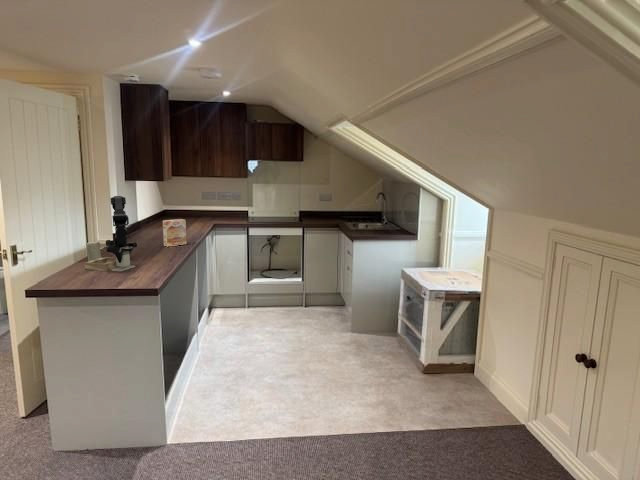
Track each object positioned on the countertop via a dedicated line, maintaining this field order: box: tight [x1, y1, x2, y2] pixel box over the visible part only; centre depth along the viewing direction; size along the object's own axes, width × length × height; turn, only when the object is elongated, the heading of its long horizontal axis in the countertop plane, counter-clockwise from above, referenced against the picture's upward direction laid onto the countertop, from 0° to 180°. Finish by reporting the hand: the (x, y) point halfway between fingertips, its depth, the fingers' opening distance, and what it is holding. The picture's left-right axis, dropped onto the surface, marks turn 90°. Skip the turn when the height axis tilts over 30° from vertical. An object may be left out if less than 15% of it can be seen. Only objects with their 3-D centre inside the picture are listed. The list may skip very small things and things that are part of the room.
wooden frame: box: [84, 256, 122, 272], centre depth 252 cm, size 16×15×4 cm
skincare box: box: [85, 241, 102, 262], centre depth 265 cm, size 6×4×12 cm
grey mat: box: [111, 264, 136, 272], centre depth 249 cm, size 12×6×1 cm, turn 165°
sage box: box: [115, 251, 131, 267], centre depth 248 cm, size 5×5×8 cm
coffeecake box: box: [162, 218, 188, 248], centre depth 317 cm, size 15×7×20 cm, turn 131°
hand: (123, 261), depth 248 cm, fingers closed on sage box, 5 cm apart
